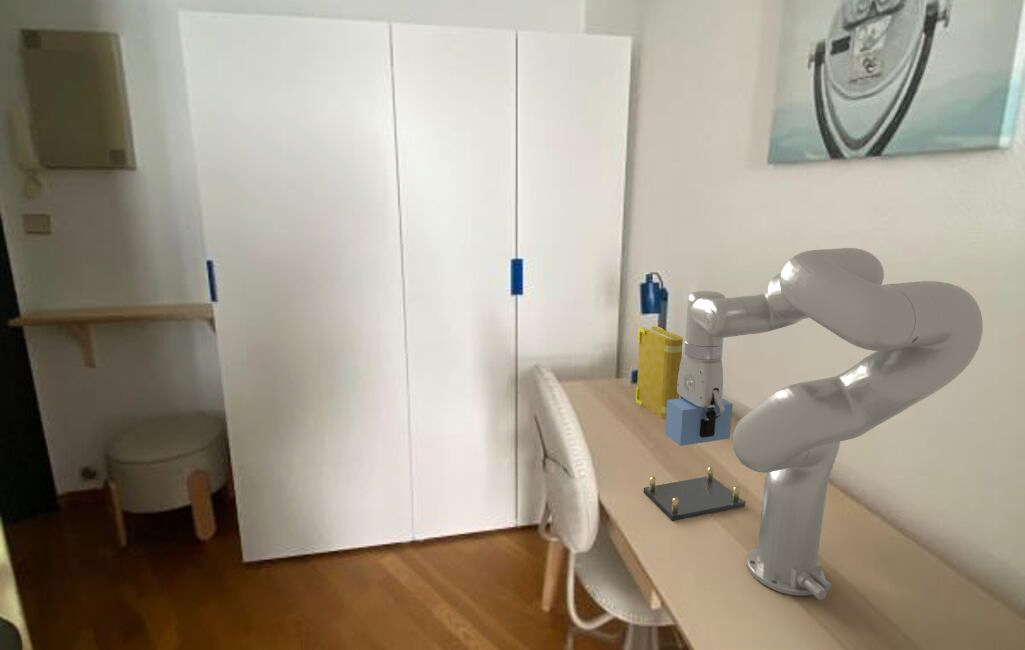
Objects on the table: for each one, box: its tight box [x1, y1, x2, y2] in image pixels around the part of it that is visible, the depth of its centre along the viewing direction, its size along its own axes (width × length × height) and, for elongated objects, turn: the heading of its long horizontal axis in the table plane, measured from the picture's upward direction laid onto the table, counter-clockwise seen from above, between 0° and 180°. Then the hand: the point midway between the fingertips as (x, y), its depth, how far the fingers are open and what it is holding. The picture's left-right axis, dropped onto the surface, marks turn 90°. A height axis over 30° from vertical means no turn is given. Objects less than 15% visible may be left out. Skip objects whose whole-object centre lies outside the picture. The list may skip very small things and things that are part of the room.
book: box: [634, 326, 684, 420], centre depth 171 cm, size 17×7×25 cm, turn 17°
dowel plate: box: [643, 466, 746, 522], centre depth 123 cm, size 12×18×4 cm, turn 106°
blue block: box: [664, 397, 734, 447], centre depth 119 cm, size 12×6×8 cm, turn 105°
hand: (697, 429), depth 119 cm, fingers closed on blue block, 6 cm apart
